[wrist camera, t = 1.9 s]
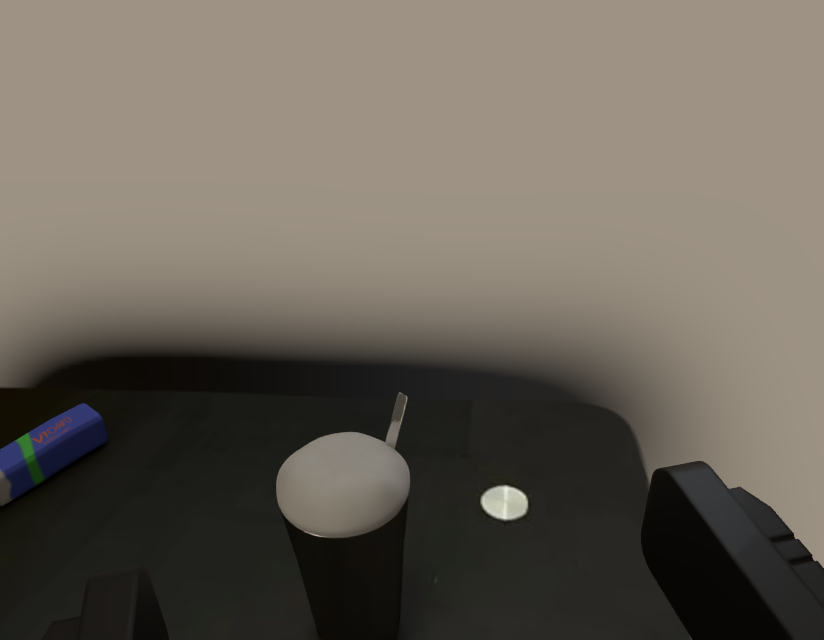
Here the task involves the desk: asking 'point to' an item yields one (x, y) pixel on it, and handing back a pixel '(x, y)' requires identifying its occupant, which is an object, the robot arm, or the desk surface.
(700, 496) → the robot arm
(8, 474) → the eraser
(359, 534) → the milkshake
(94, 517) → the desk surface
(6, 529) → the desk surface
